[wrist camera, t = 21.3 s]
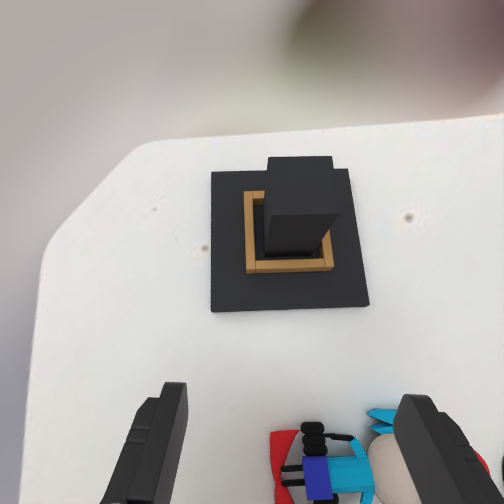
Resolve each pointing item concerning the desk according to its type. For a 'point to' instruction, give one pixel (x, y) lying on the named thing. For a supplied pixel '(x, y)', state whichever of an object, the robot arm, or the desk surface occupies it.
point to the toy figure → (346, 466)
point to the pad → (279, 268)
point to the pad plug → (298, 204)
